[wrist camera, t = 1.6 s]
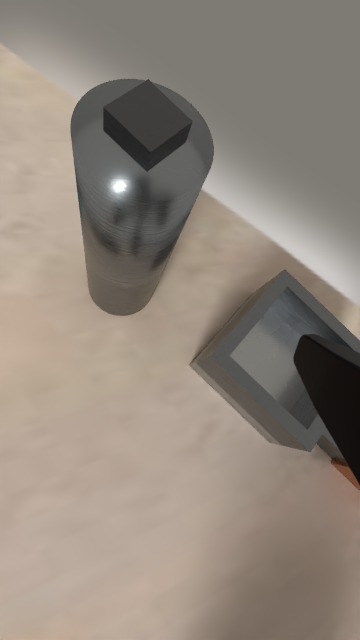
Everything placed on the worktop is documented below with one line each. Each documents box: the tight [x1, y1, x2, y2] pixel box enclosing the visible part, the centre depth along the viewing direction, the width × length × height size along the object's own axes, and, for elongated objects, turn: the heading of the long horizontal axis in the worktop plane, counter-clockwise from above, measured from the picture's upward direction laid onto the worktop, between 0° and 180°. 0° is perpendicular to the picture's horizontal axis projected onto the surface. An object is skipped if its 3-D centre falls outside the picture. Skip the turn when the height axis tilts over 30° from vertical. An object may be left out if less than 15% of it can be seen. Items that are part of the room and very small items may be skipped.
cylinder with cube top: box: [71, 79, 214, 316], centre depth 16 cm, size 4×4×14 cm
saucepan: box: [189, 270, 360, 490], centre depth 21 cm, size 8×18×4 cm, turn 48°
